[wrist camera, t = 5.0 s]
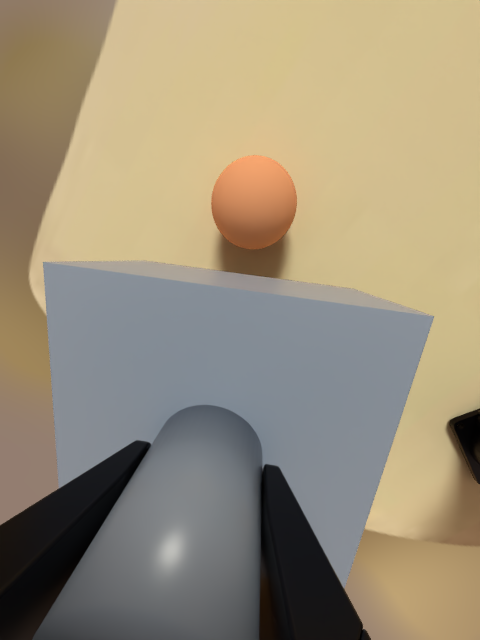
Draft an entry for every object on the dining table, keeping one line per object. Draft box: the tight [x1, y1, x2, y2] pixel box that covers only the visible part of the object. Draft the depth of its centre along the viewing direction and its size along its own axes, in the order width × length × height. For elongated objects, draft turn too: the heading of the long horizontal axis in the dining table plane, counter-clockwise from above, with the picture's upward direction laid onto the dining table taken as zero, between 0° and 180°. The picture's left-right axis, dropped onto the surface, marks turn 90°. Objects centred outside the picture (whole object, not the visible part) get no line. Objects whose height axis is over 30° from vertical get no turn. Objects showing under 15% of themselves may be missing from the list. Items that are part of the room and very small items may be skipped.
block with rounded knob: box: [32, 261, 434, 640], centre depth 8 cm, size 10×10×10 cm
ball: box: [211, 155, 297, 249], centre depth 15 cm, size 5×5×5 cm
